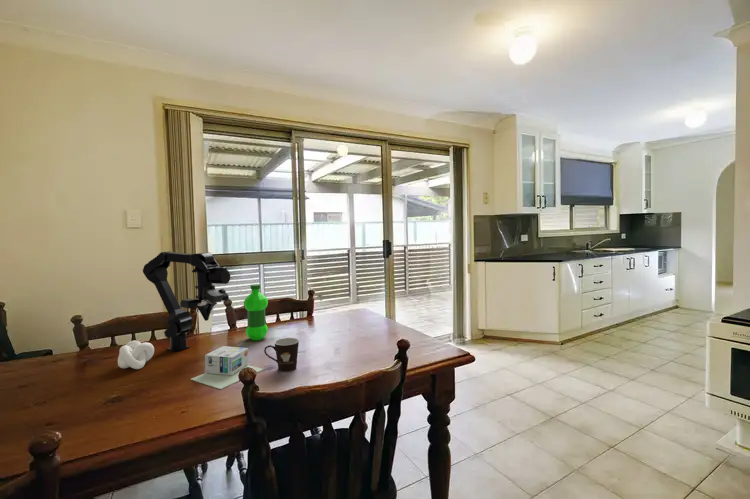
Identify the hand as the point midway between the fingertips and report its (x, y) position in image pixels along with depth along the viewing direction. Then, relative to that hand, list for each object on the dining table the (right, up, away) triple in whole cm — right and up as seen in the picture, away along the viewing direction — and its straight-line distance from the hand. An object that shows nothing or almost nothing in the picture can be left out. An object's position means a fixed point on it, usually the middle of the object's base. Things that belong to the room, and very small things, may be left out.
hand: (206, 320), depth 152 cm
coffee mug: (+37, -14, -18) cm, 43 cm away
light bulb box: (+11, -10, -18) cm, 24 cm away
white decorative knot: (-19, -15, -14) cm, 28 cm away
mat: (+19, -14, -24) cm, 33 cm away
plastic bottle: (+15, -12, +17) cm, 26 cm away
